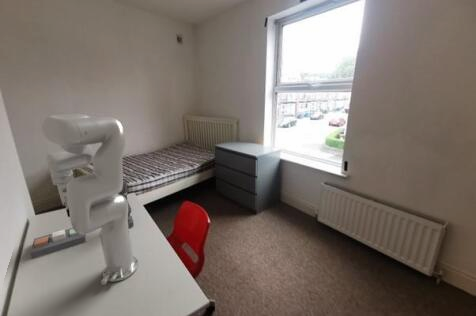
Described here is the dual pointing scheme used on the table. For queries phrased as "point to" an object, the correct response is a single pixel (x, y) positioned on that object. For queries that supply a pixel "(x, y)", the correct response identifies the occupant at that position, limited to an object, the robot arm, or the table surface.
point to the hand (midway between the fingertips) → (72, 215)
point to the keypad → (56, 244)
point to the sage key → (73, 233)
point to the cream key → (58, 235)
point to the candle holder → (124, 193)
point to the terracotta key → (41, 241)
